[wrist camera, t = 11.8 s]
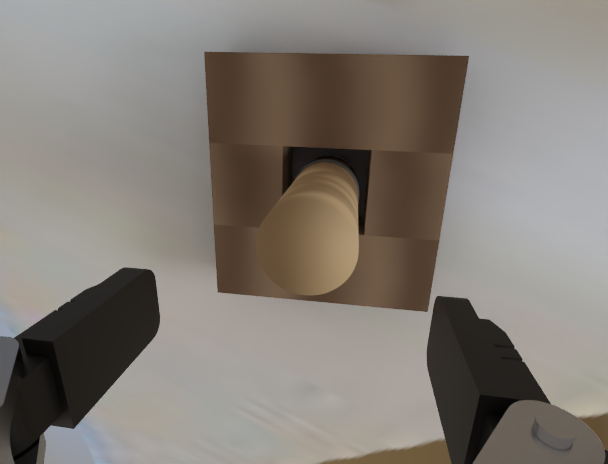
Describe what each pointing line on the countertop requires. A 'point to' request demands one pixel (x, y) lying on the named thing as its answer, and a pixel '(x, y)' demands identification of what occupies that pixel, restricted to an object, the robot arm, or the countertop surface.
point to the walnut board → (341, 135)
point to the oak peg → (313, 229)
